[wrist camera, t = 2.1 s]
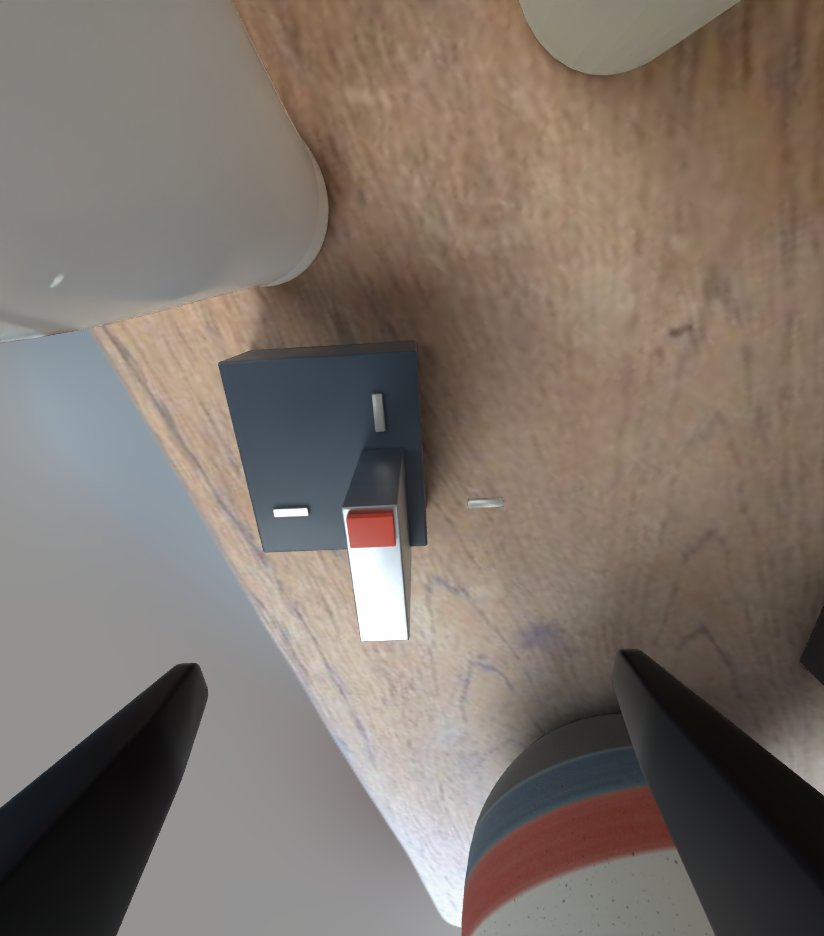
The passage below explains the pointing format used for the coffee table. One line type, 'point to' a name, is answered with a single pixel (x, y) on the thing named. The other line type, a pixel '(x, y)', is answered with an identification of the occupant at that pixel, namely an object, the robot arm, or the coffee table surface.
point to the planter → (577, 845)
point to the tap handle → (379, 544)
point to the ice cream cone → (615, 29)
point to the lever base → (324, 434)
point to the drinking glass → (142, 164)
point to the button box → (815, 651)
